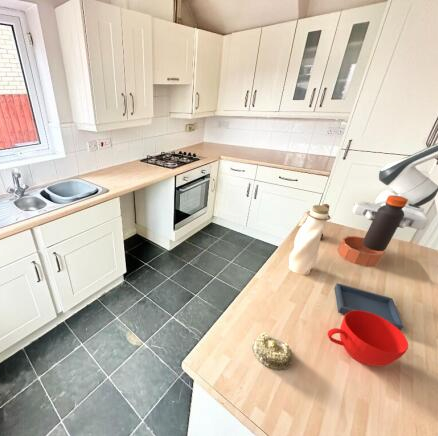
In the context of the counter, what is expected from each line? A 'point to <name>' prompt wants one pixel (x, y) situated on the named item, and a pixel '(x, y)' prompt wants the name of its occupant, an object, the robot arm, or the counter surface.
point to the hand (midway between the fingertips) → (386, 222)
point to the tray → (367, 304)
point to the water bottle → (308, 239)
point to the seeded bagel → (272, 352)
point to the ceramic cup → (370, 338)
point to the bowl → (356, 256)
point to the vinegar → (385, 223)
